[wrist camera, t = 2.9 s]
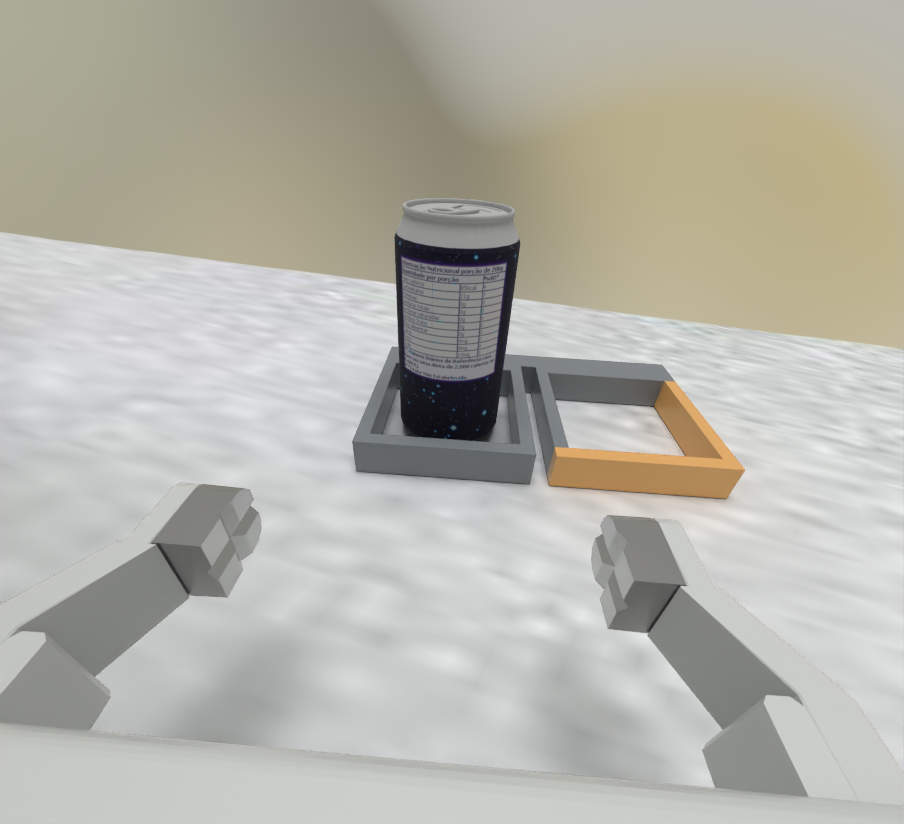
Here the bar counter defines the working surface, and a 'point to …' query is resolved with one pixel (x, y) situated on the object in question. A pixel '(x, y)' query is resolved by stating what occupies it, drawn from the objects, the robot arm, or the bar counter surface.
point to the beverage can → (453, 313)
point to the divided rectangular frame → (559, 433)
